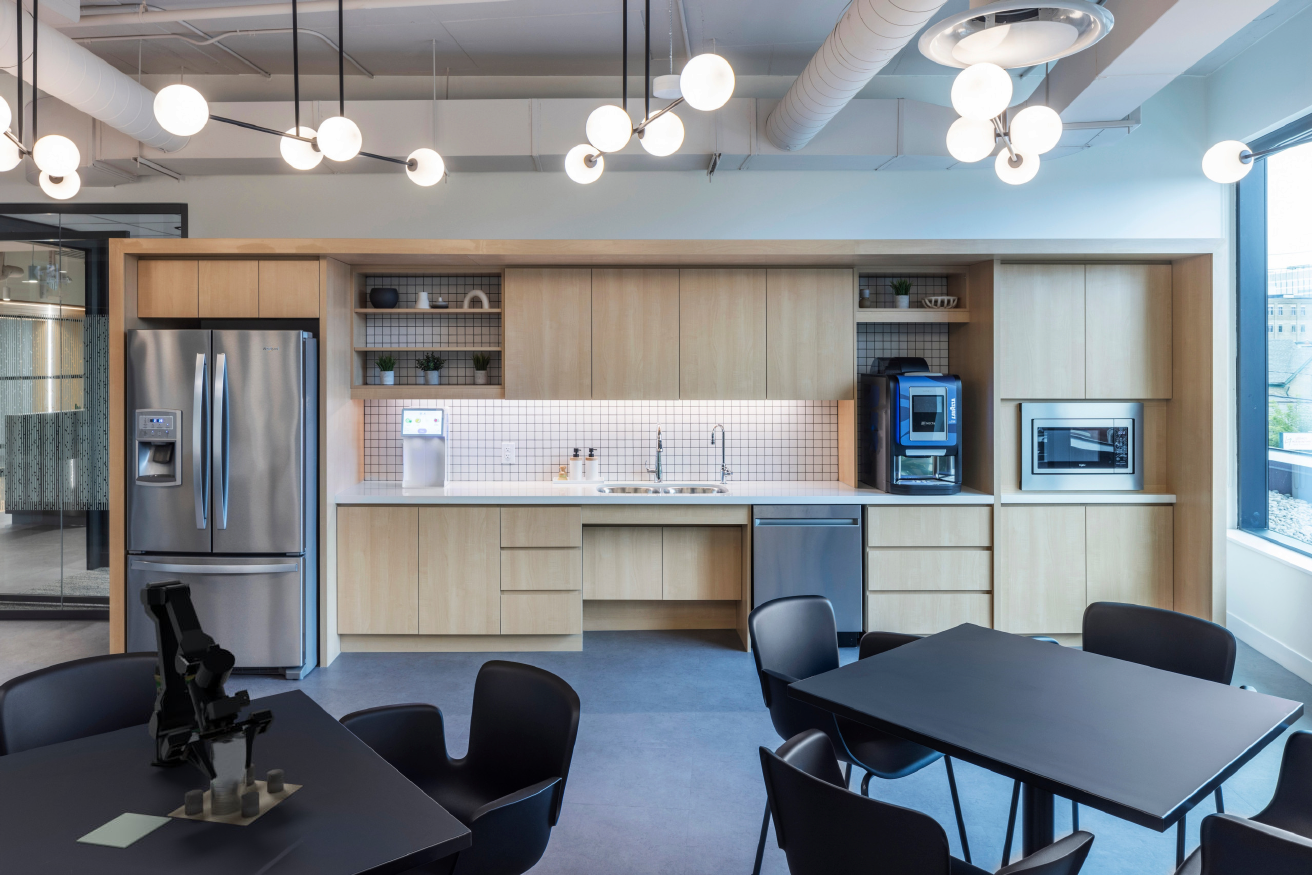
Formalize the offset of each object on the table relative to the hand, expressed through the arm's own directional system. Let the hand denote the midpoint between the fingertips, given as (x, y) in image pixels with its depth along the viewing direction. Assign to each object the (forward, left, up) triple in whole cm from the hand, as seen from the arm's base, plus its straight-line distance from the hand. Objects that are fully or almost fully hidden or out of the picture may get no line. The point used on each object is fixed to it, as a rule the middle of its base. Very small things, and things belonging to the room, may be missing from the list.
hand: (231, 773), depth 148 cm
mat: (-2, +4, -8) cm, 9 cm away
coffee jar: (-39, +30, -8) cm, 50 cm away
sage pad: (-13, -10, -8) cm, 18 cm away
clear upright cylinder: (-1, +1, -7) cm, 7 cm away
